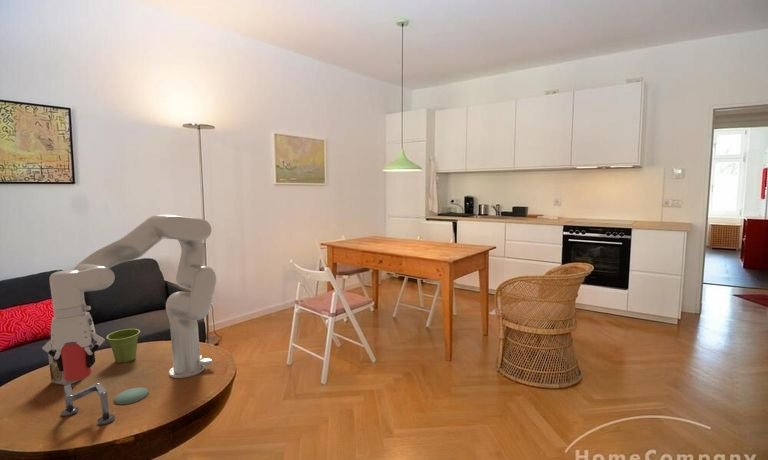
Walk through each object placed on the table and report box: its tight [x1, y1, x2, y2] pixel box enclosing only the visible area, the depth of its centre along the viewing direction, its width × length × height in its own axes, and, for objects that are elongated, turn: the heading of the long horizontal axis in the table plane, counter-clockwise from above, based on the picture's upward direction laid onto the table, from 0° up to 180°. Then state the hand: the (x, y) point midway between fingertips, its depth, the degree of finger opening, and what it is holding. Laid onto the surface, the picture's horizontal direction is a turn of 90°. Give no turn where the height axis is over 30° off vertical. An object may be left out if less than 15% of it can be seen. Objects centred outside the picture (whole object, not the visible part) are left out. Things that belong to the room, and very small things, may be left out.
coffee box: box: [45, 340, 81, 386], centre depth 149 cm, size 9×6×16 cm
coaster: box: [113, 387, 150, 405], centre depth 137 cm, size 10×10×1 cm
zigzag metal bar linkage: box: [60, 382, 116, 426], centre depth 125 cm, size 17×13×9 cm
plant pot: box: [105, 328, 141, 364], centre depth 166 cm, size 12×12×11 cm
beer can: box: [61, 342, 92, 382], centre depth 121 cm, size 7×7×12 cm
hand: (77, 367), depth 122 cm, fingers closed on beer can, 6 cm apart
